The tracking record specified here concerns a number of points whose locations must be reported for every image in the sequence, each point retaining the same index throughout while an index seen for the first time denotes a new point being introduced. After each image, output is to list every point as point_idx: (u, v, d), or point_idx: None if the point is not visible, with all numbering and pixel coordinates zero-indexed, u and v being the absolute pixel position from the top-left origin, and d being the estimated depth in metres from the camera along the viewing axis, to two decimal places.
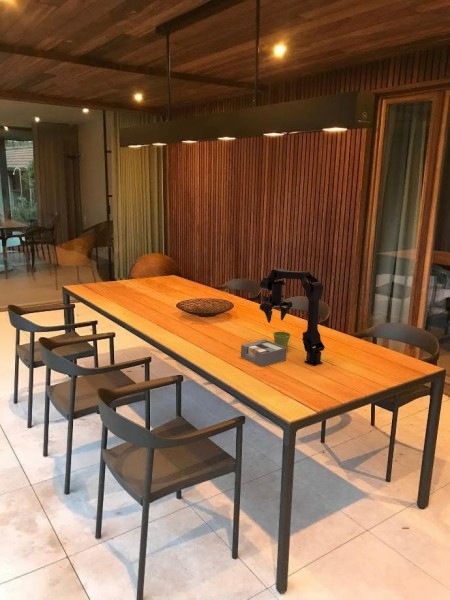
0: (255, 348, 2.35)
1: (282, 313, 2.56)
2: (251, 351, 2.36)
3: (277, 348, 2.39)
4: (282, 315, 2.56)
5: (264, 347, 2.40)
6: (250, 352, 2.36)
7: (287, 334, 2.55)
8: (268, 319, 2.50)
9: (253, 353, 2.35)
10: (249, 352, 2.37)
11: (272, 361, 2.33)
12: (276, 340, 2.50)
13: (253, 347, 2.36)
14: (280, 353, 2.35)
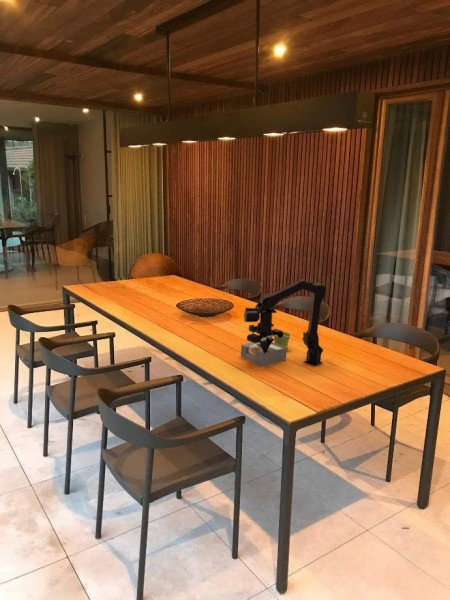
0: (256, 348, 2.34)
1: None
2: (251, 350, 2.35)
3: (277, 348, 2.39)
4: None
5: None
6: (250, 351, 2.36)
7: (287, 334, 2.55)
8: (263, 349, 2.30)
9: (253, 353, 2.34)
10: (249, 351, 2.37)
11: (272, 361, 2.33)
12: (276, 340, 2.50)
13: (254, 346, 2.36)
14: (280, 353, 2.35)
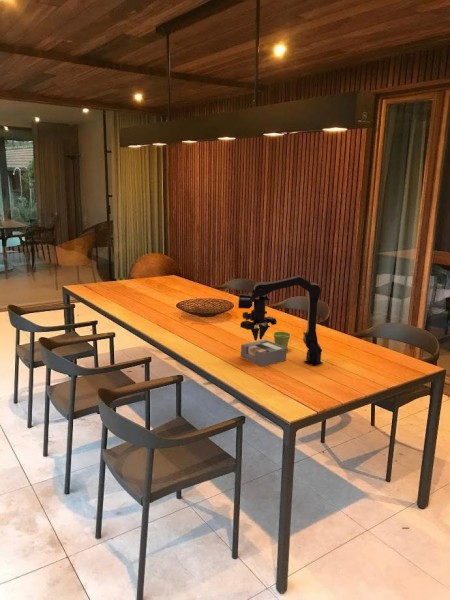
0: (255, 348, 2.35)
1: (261, 332, 2.34)
2: (251, 350, 2.36)
3: (277, 348, 2.39)
4: (261, 334, 2.34)
5: (264, 347, 2.40)
6: (250, 352, 2.36)
7: (287, 334, 2.55)
8: (255, 337, 2.32)
9: (253, 353, 2.35)
10: (249, 352, 2.37)
11: (272, 361, 2.33)
12: (276, 340, 2.50)
13: (253, 347, 2.36)
14: (280, 353, 2.35)
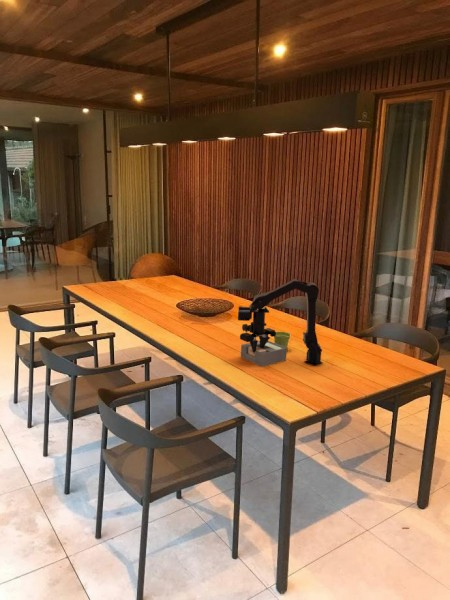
0: None
1: (261, 343, 2.35)
2: (251, 350, 2.36)
3: (277, 348, 2.39)
4: (261, 345, 2.35)
5: (264, 347, 2.40)
6: (250, 352, 2.36)
7: (287, 334, 2.55)
8: (253, 349, 2.33)
9: (253, 353, 2.35)
10: (249, 352, 2.37)
11: (272, 361, 2.33)
12: (276, 340, 2.50)
13: None
14: (280, 353, 2.35)
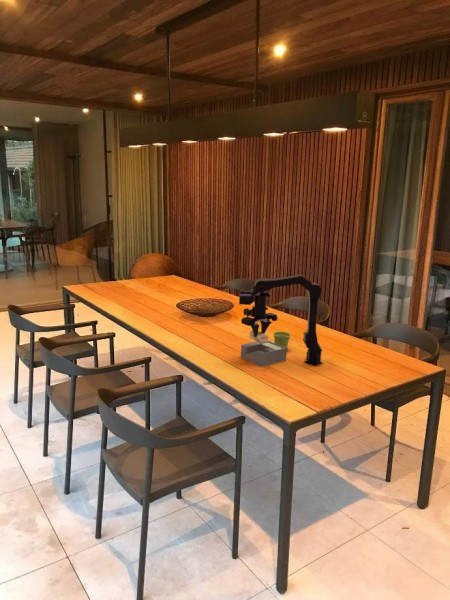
0: None
1: (263, 328, 2.34)
2: (252, 335, 2.34)
3: (277, 348, 2.39)
4: (263, 330, 2.34)
5: (264, 347, 2.40)
6: (251, 337, 2.35)
7: (287, 334, 2.55)
8: (255, 333, 2.31)
9: (254, 338, 2.33)
10: (250, 337, 2.36)
11: (272, 361, 2.33)
12: (276, 340, 2.50)
13: None
14: (280, 353, 2.35)
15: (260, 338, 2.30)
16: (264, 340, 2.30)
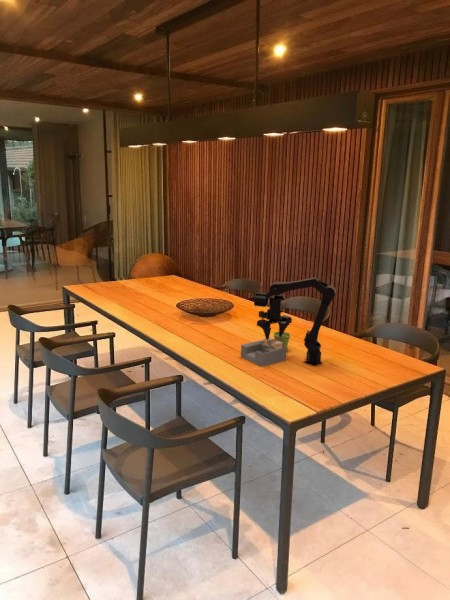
0: (271, 340, 2.39)
1: (280, 329, 2.40)
2: (267, 343, 2.40)
3: None
4: (280, 331, 2.40)
5: (264, 347, 2.40)
6: (266, 344, 2.41)
7: (287, 334, 2.55)
8: (266, 336, 2.35)
9: (269, 345, 2.39)
10: (265, 344, 2.42)
11: (272, 361, 2.33)
12: None
13: (269, 339, 2.41)
14: (280, 353, 2.35)
15: (275, 346, 2.36)
16: (278, 347, 2.36)
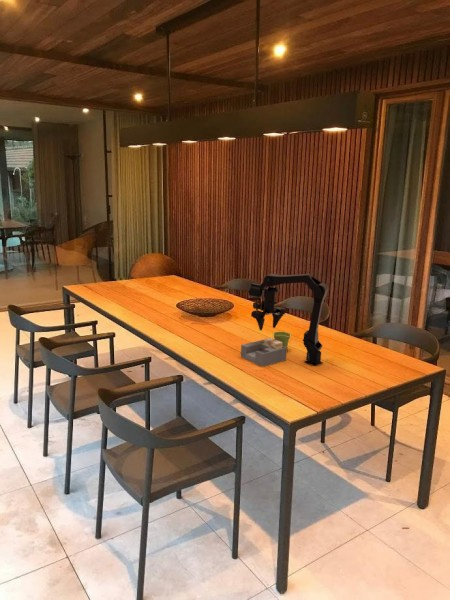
0: (271, 340, 2.39)
1: (274, 320, 2.45)
2: (267, 343, 2.40)
3: None
4: (274, 322, 2.45)
5: (264, 347, 2.40)
6: (266, 344, 2.41)
7: (287, 334, 2.55)
8: (260, 327, 2.39)
9: (269, 345, 2.39)
10: (265, 344, 2.42)
11: (272, 361, 2.33)
12: None
13: (269, 339, 2.41)
14: (280, 353, 2.35)
15: (275, 346, 2.36)
16: (278, 347, 2.36)
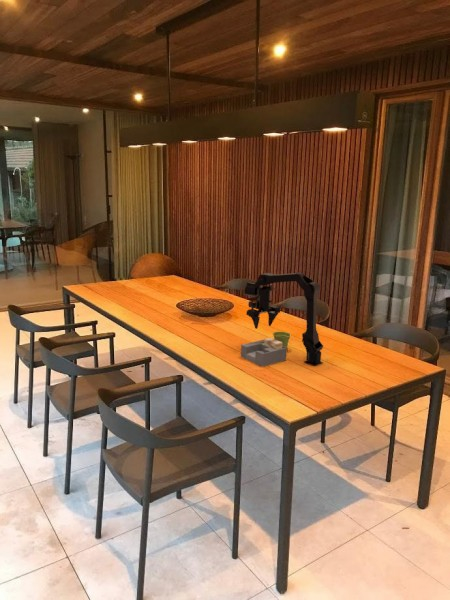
0: (271, 340, 2.39)
1: (270, 319, 2.50)
2: (267, 343, 2.40)
3: None
4: (270, 321, 2.50)
5: (264, 347, 2.40)
6: (266, 344, 2.41)
7: (287, 334, 2.55)
8: (255, 325, 2.44)
9: (269, 345, 2.39)
10: (265, 344, 2.42)
11: (272, 361, 2.33)
12: None
13: (269, 339, 2.41)
14: (280, 353, 2.35)
15: (275, 346, 2.36)
16: (278, 347, 2.36)
